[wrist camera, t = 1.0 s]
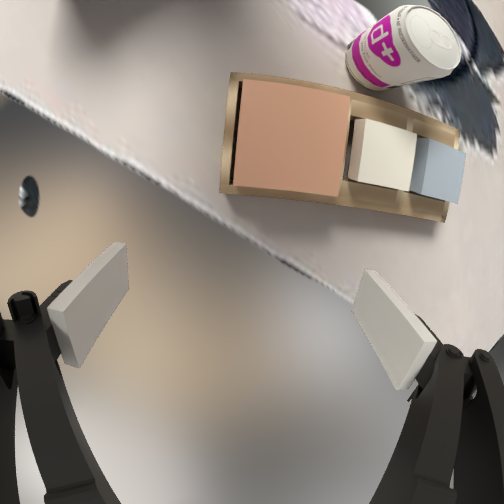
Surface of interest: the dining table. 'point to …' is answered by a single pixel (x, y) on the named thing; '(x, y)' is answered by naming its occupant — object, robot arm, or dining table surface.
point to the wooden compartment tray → (349, 189)
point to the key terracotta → (290, 138)
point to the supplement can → (403, 49)
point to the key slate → (437, 170)
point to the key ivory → (382, 154)
